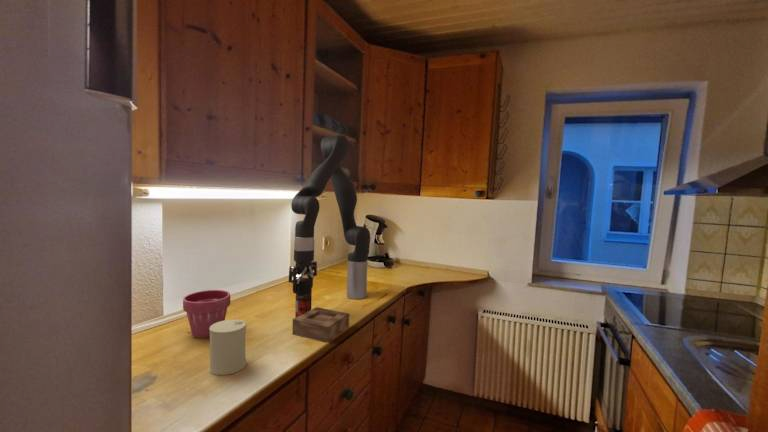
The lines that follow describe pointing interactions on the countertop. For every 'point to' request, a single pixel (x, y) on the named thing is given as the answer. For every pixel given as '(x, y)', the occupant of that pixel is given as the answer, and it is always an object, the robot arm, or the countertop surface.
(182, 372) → the countertop surface
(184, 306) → the plant pot
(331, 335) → the plinth
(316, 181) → the robot arm
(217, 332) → the can
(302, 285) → the deodorant
